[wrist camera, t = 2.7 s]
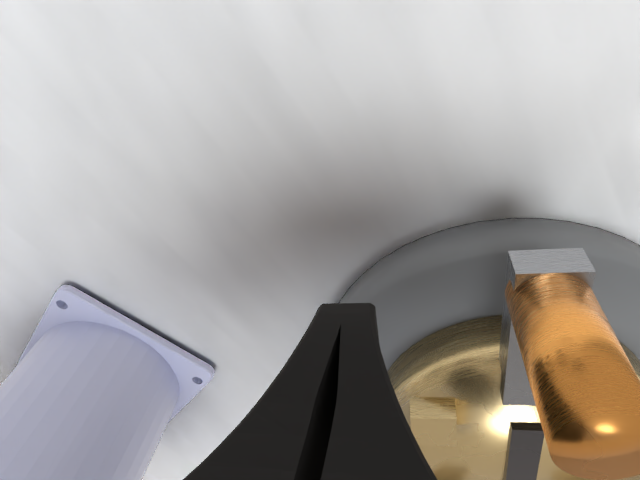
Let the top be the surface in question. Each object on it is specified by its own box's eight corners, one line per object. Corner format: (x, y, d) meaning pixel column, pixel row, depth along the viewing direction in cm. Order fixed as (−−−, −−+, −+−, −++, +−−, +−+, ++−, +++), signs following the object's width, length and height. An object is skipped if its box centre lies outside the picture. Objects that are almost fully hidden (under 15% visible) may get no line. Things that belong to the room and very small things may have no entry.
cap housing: (486, 498, 26) (492, 537, 24) (262, 366, 22) (251, 401, 21) (785, 368, 18) (823, 412, 17) (517, 132, 15) (532, 159, 13)
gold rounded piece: (621, 484, 20) (707, 702, 15) (387, 473, 22) (384, 662, 17) (723, 201, 13) (982, 423, 7) (357, 221, 15) (333, 409, 9)
